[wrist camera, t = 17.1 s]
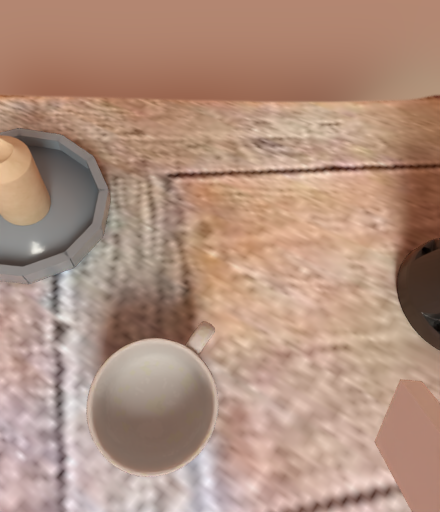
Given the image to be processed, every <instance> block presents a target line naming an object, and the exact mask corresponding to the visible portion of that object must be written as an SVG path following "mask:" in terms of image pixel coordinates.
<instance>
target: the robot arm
mask: <svg viewBox="0 0 440 512" xmlns="http://www.w3.org/2000/svg"><path fill="white" fill-rule="evenodd" d="M398 294H399V299H400V303H401V306H402V308H403V311H404V313H405V315H406V317H407V319H408V320H409V322H410V323H411V325H412V326H413V328H414V329H415V330H416V331H417V333H418V334H419V335H420V336H421V337H422V338H423V339H424V340H425V341H427V342H428V343H429V344H430V345H432V346H433V347H435V348H436V349H438V350H440V238H437V239H433V240H431V241H428V242H426V243H424V244H423V245H421V246H419V247H418V248H416V249H415V250H413V251H412V252H411V253H410V254H409V255H408V256H407V257H406V258H405V260H404V261H403V263H402V265H401V267H400V270H399V274H398ZM375 444H376V446H377V447H378V449H379V451H380V453H381V455H382V457H383V459H384V461H385V462H386V464H387V466H388V468H389V470H390V472H391V474H392V475H393V477H394V479H395V481H396V483H397V485H398V487H399V489H400V490H401V492H402V494H403V496H404V498H405V500H406V502H407V503H408V505H409V507H410V509H411V511H412V512H440V403H439V402H438V401H437V399H436V398H435V397H434V396H433V394H432V393H431V392H430V391H429V389H428V388H427V387H426V386H425V385H424V383H423V382H422V381H412V380H401V379H400V382H399V384H398V386H397V389H396V391H395V394H394V396H393V398H392V401H391V403H390V406H389V408H388V411H387V413H386V415H385V418H384V420H383V423H382V425H381V428H380V430H379V432H378V435H377V437H376V440H375Z"/></svg>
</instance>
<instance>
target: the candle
mask: <svg viewBox="0 0 440 512" xmlns="http://www.w3.org/2000/svg"><path fill="white" fill-rule="evenodd" d="M50 205H51V201H50V196H49V193H48V191H47V189H46V186H45V184H44V182H43V180H42V177H41V175H40V173H39V170H38V168H37V166H36V164H35V161H34V159H33V157H32V154H31V152H30V150H29V148H28V147H27V145H26V144H25V143H23V142H22V141H21V140H19V139H17V138H14V137H11V136H4V135H0V214H1V216H2V217H3V218H4V219H5V220H7V221H8V222H10V223H12V224H15V225H19V226H26V225H32V224H35V223H37V222H39V221H40V220H42V219H43V218H44V217H45V216H46V215H47V213H48V212H49V209H50Z"/></svg>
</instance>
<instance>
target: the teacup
mask: <svg viewBox="0 0 440 512" xmlns="http://www.w3.org/2000/svg"><path fill="white" fill-rule="evenodd" d="M214 332H215V328H214V327H213V326H212V325H211V324H210V323H208V322H205V321H203V322H201V323H200V324H199V326H198V327H197V329H196V330H195V331H194V333H193V334H192V336H191V337H190V339H189V340H188V342H187V343H186V345H185V346H184V345H183V344H180V343H178V342H175V341H172V340H169V339H164V338H147V339H141V340H138V341H134V342H132V343H129V344H127V345H125V346H124V347H122V348H120V349H119V350H118V351H116V352H115V353H113V354H112V355H111V356H110V357H109V358H108V359H107V360H106V361H105V362H104V363H103V364H102V366H101V367H100V369H99V370H98V372H97V374H96V376H95V378H94V380H93V382H92V384H91V387H90V390H89V394H88V399H87V423H88V427H89V431H90V434H91V436H92V439H93V441H94V442H95V444H96V446H97V448H98V450H99V451H100V452H101V453H102V455H103V456H104V457H105V458H106V459H107V460H108V461H109V462H110V463H111V464H112V465H114V466H115V467H117V468H118V469H120V470H122V471H124V472H126V473H128V474H132V475H136V476H143V477H153V476H160V475H164V474H168V473H171V472H174V471H176V470H178V469H180V468H182V467H183V466H185V465H187V464H188V463H189V462H191V461H192V460H193V459H194V458H195V457H196V456H198V455H199V453H200V452H201V451H202V450H203V448H204V447H205V445H206V444H207V443H208V441H209V439H210V437H211V435H212V432H213V430H214V427H215V424H216V420H217V416H218V392H217V387H216V384H215V381H214V378H213V376H212V373H211V372H210V370H209V368H208V367H207V365H206V364H205V363H204V362H203V361H202V359H201V358H200V357H199V356H198V355H199V354H200V352H201V351H202V350H203V348H204V346H205V345H206V344H207V342H208V341H209V339H210V338H211V337H212V335H213V334H214Z"/></svg>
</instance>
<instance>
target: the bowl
mask: <svg viewBox="0 0 440 512" xmlns="http://www.w3.org/2000/svg"><path fill="white" fill-rule="evenodd" d="M0 135H4V136H11V137H14V138H17V139H19V140H21V141H22V142H23V143H25V144H26V145H27V147H28V148H29V150H30V152H31V154H32V157H33V159H34V161H35V164H36V166H37V168H38V170H39V173H40V175H41V177H42V180H43V182H44V184H45V186H46V189H47V191H48V193H49V196H50V201H51V205H50V209H49V212H48V213H47V215H46V216H45V217H44V218H43V219H42V220H40V221H39V222H37V223H35V224H32V225H26V226H19V225H15V224H12V223H10V222H8V221H7V220H5V219H4V218H3V217H2V216H1V214H0V281H6V282H16V283H25V284H29V283H30V284H31V283H34V282H37V281H39V280H42V279H45V278H47V277H50V276H53V275H56V274H58V273H61V272H64V271H67V270H69V269H72V268H74V267H76V266H77V265H78V263H79V262H80V261H81V260H82V259H83V258H84V257H85V256H86V255H87V254H88V253H89V252H90V251H91V249H92V248H93V247H94V246H95V245H96V244H97V243H98V242H99V241H100V240H101V239H102V238H103V236H104V232H105V227H106V222H107V216H108V211H109V206H110V195H109V189H108V187H107V185H106V182H105V180H104V178H103V176H102V173H101V171H100V169H99V167H98V165H97V162H96V160H95V158H94V156H92V155H91V154H89V153H88V152H87V151H85V150H84V149H82V148H81V147H79V146H78V145H76V144H75V143H73V142H72V141H70V140H69V139H67V138H66V137H65V136H63V135H61V134H55V133H48V132H42V131H35V130H29V129H22V128H20V129H19V128H17V129H13V130H9V131H5V132H1V133H0Z"/></svg>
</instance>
